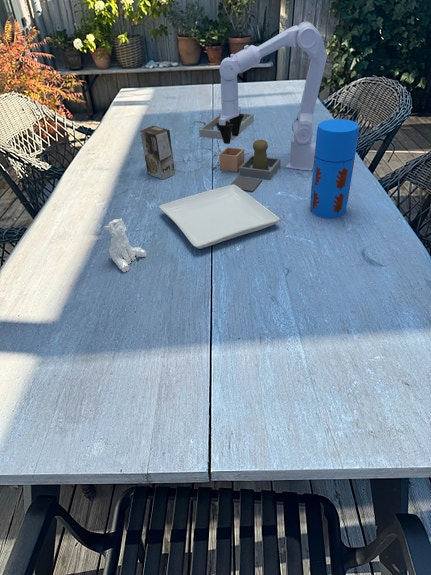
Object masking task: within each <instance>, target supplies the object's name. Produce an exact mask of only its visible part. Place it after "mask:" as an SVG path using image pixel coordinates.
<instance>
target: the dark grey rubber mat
mask: <svg viewBox="0 0 431 575" xmlns="http://www.w3.org/2000/svg"><path fill="white" fill-rule="evenodd" d="M262 182H263V179H260V178H252V177H245V176H237V177H236V178H235V179H234V180H233V181H232V182H231V183H230V184H229V185H236V186H238V187H239V188H240V189H242V190H243V191H244V192H246V193H247V192H248V193H254V192H255V191H256V189H257V188H258V187H259V186H260V184H261V183H262Z"/></svg>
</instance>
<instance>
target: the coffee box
mask: <svg viewBox="0 0 431 575" xmlns="http://www.w3.org/2000/svg"><path fill="white" fill-rule="evenodd" d="M139 133H140V138H141V145H142V149H143V155H144V160H145V161H144V162H145V166H146V172H147V174H148V173H149V174H151V175H150V176H152V175H153V176H152V177H155V178H157V177H158V178H159V179H161V180H165V179H167V178H170V177H171V176H175V175H176V171H175V162H174V156H173V148H172V147H173V146H172V140H171V132H170V129H168V128H164V127H159V126H156V125H151V126H148V127H146V128H144V129H142V130H139ZM149 174H148V175H149ZM158 178H157V179H158Z"/></svg>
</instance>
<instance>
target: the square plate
mask: <svg viewBox="0 0 431 575" xmlns="http://www.w3.org/2000/svg"><path fill="white" fill-rule="evenodd" d="M158 207H159V209H160V210H161V211H162V212H163V213H164V214H165V215H166V216H167V217H168V218H169V219H171V220H172V222H174V224H176V226H177V227H178V228H179V229H180V231H181V232H182V234H184V235H185V237H186V238H187V240H188V241H189V242H190V244H191V245H192V246H193V247H194V248H196V249H204V248H207V247H210V246H214V245H217V244H219V243H222V242H226V241H228V240H231V239H235V238H238V237H241V236H244V235H246V234H250V233H254V232H257V231H261V230H263V229H265V228H266V229H267V228H268V227H271V226H274V225H276V224H277V223H278V222H280V221H281V219H280V217H279V216H277V215H276V214H275V213H273V212H272V211H271V210H269V209H268V208H267V207H266V206H264V205H263V204H262V203H260V202H259V201H258V200H257V199H255V198H254V197H253V196H252V195H250V194H249V193H247V191H243V190H242V189H240V188H239V187H238V186H236V185H230V184H229V185H225V186H221V187H219V188H218V187H217V188H214V189H210V190H206V191H203V192H199V193H196V194H192V195H190V196H189V195H188V196H185V197H182V198H179V199H175V200H173V201H169V202H166V203H162V204H160V205H158Z"/></svg>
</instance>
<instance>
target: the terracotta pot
mask: <svg viewBox="0 0 431 575" xmlns="http://www.w3.org/2000/svg"><path fill="white" fill-rule="evenodd" d="M218 161H219V162H218V163H219V164H218V165H219V171H224V172H232V173H239V167H240V166H241V165H242V164H243V163H244V162H245V148H238V147H237V148H236V147H228V146H227V147H225V148H224V149H223V150H222V151H220V153H219V154H218Z"/></svg>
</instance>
